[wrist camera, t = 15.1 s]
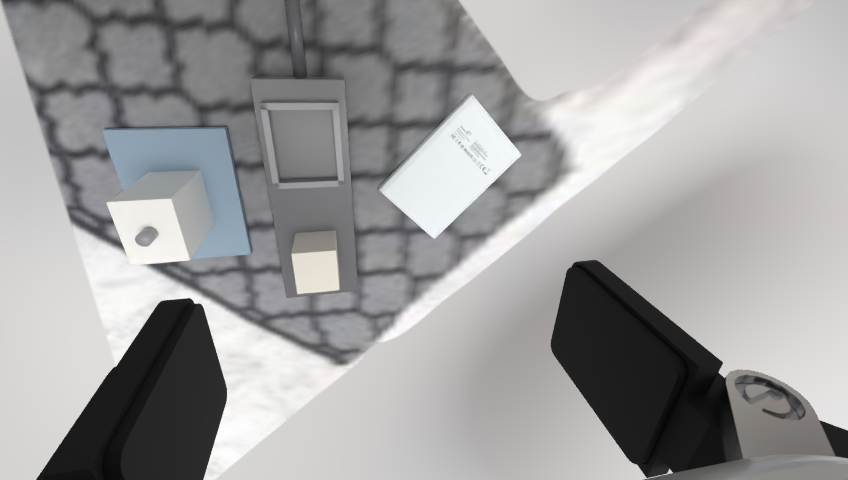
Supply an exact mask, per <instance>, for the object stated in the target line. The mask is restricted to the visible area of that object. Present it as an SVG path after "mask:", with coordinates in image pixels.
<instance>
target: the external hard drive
mask: <svg viewBox="0 0 848 480" xmlns="http://www.w3.org/2000/svg"><path fill="white" fill-rule="evenodd" d="M520 156H521V153H520V152H519V151H518V150H517V148H516V147H515V146H514V145H513V144H512V142H511V141H510V140H509V139H508V138H507V136H506V135H505V134H504V133H503V131H502V130H501V129H500V128H499V126H498V125H497V124H496V123H495V122H494V120H493V119H492V118H491V117H490V115H489V114H488V113H487V112H486V111H485V109H484V108H483V107H482V106H481V104H480V103H479V102H478V101H477V99H476V98H475V97H474V96H473V95H471V94H469V95H468V96H467V97H466V98H465V99H464V100H463V101H462V102H461V103H460V104H459V105H458V106H457V107H456V108H455V109H454V110H453V111H452V112H451V113H450V114H449V115H448V116H447V117H446V118H445V119H444V120H443V121H442V122H441V123H440V125H439V126H438V127H437V128H436V129H435V130H434V131H433V132H432V133H431V134H430V135H429V136H428V137H427V138H426V139H425V140H424V141H423V142H422V143H421V144H420V145H419V146H418V147H417V148H416V149H415V150H414V151H413V152H412V153H411V154H410V155H409V156H408V157H407V158H406V159H405V160H404V161H403V162H402V163H401V164H400V166H399V167H398V168H397V169H396V170H395V171H394V172H393V173H392V174H391V175H390V176H389V177H388V178H387V179H386V180H385V181H384V182H383V183H382V184H381V185H380V186H379V187H378V188H379V191H380V192H381V193H382V194H383V195H385V196H386V197H387V198H388V199H389V200H390V201H391V202H393V203H394V204H395V205H396V206H397V207H398V208H399V209H400V210H402V211H403V212H404V213H405V214H406V215H407V216H408V217H410V218H411V219H412V220H413V221H414V222H415V223H416V224H417V225H419V226H420V227H421V228H422V229H423V230H424V231H425V232H426V233H428V234H429V235H430V236H431V237H432V238H433V239H435V238H436V237H437V236H438V235H439V234H440V233H441V232H442V231H443V230H444V229H445V228H446V227H447V226H448V225H449V224H450V223H451V222H452V221H453V220H455V219H456V218H457V217H458V216H459V215H460V214H461V213H462V212H463V211H464V210H465V209H466V208H467V207H468V206H469V205H470V204H471V203H472V202H473V201H474V200H475V199H476V198H477V197H478V196H479V195H481V194H482V193H483V192H484V191H485V190H486V189H487V188H488V187H489V186H490V185H491V184H492V183H493V182H494V181H495V180H496V179H497V178H498V177H499V176H500V175H501V174H502V173H503V172H504V171H505V170H506V169H507V168H508V167H509V166H511V165H512V164H513V163H514V162H515V161H516V160H517V159H518V158H519V157H520Z"/></svg>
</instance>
